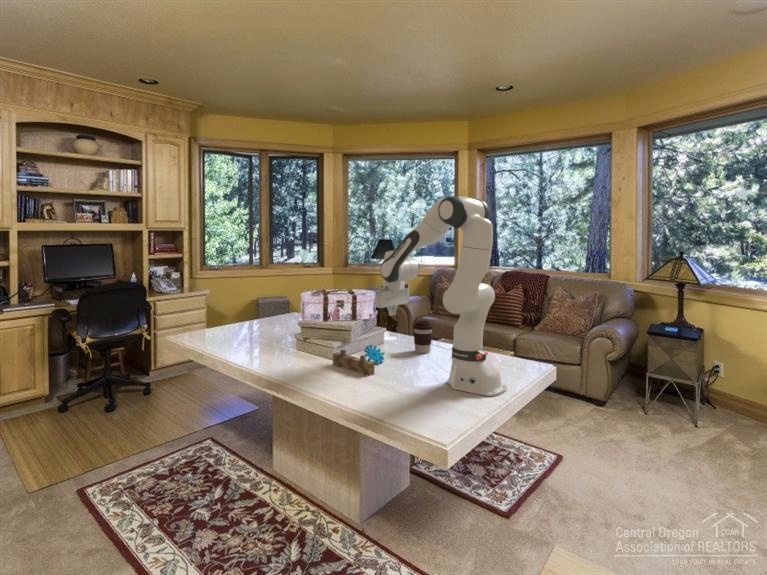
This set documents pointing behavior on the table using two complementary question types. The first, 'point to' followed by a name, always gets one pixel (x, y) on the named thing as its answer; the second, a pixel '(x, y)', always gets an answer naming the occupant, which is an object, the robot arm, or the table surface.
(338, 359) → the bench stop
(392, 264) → the robot arm
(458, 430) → the table surface
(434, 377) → the table surface
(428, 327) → the coffee cup
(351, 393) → the table surface
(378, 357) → the gear
